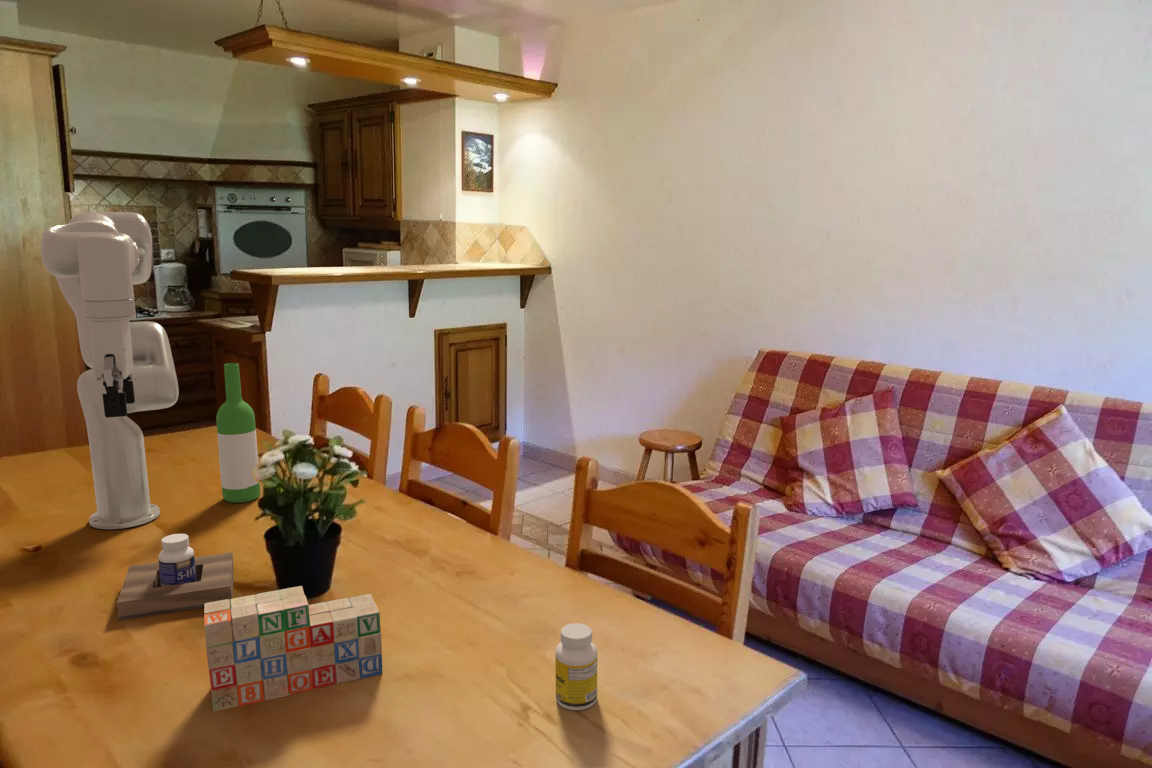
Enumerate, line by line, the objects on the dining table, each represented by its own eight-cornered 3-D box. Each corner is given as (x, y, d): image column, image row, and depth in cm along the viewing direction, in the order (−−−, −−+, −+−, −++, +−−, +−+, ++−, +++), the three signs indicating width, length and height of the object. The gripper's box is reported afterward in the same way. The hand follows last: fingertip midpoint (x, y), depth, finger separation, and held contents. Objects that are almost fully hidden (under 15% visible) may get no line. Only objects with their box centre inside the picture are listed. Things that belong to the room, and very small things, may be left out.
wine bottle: (268, 496, 178) (258, 363, 172) (237, 506, 171) (226, 368, 165) (246, 490, 182) (236, 359, 176) (215, 499, 175) (203, 364, 169)
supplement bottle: (554, 688, 107) (554, 620, 105) (594, 686, 107) (595, 619, 105) (556, 713, 101) (556, 642, 99) (599, 711, 102) (600, 640, 100)
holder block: (131, 582, 136) (129, 565, 135) (233, 568, 142) (232, 552, 141) (118, 620, 123) (116, 602, 123) (232, 603, 129) (230, 586, 128)
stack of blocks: (374, 652, 115) (370, 572, 113) (383, 675, 110) (379, 591, 107) (211, 687, 106) (203, 601, 104) (211, 713, 101) (203, 623, 98)
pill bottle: (182, 597, 129) (177, 546, 128) (154, 594, 130) (148, 543, 129) (204, 583, 135) (199, 533, 133) (176, 580, 136) (171, 530, 134)
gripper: (93, 305, 140) (103, 400, 144) (73, 317, 125) (86, 424, 128) (141, 303, 143) (150, 397, 147) (128, 315, 127) (139, 420, 131)
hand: (120, 409), depth 137 cm, fingers open, 9 cm apart
